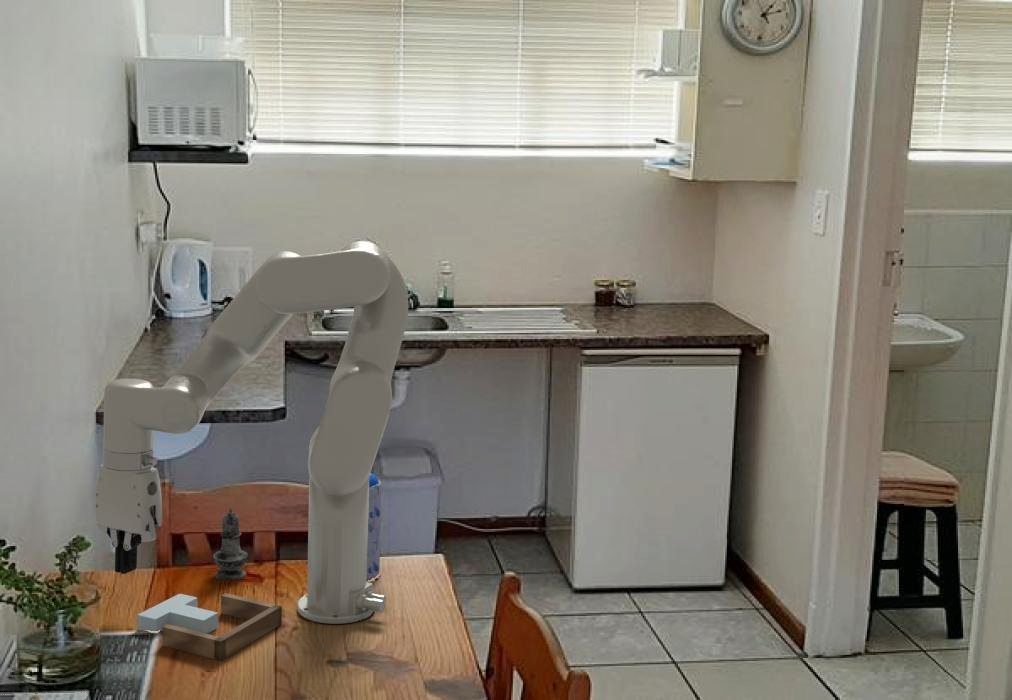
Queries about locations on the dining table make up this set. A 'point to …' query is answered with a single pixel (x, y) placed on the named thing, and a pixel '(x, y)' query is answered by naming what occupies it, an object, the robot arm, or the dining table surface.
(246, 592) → the dining table surface
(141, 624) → the t block
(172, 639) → the corral
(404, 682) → the dining table surface
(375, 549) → the aerosol can
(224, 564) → the grey stone statue
